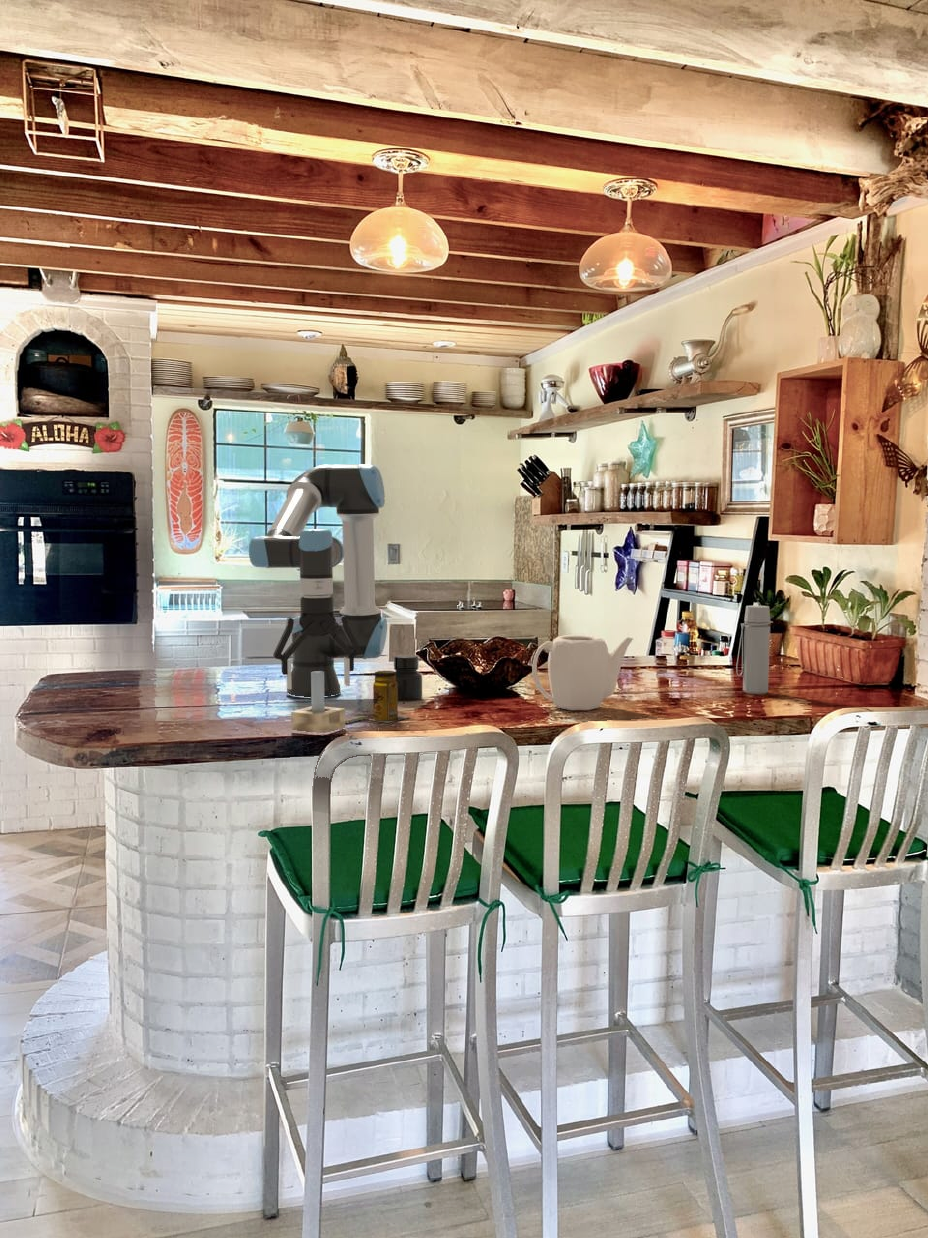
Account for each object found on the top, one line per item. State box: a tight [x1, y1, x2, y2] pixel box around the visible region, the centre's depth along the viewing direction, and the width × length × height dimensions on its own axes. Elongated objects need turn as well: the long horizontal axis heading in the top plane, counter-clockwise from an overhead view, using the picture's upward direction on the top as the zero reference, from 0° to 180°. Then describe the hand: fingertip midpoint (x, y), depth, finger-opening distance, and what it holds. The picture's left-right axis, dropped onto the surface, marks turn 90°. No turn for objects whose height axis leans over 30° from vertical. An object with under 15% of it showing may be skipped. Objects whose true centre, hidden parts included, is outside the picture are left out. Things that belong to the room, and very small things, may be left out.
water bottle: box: [735, 605, 772, 695], centre depth 277 cm, size 9×8×25 cm
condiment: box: [368, 670, 409, 724], centre depth 240 cm, size 7×8×12 cm
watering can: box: [531, 634, 634, 711], centre depth 255 cm, size 16×27×19 cm, turn 91°
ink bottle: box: [393, 654, 423, 702], centre depth 268 cm, size 10×9×12 cm
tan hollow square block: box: [290, 705, 346, 733], centre depth 226 cm, size 9×9×5 cm
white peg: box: [310, 671, 326, 713], centre depth 225 cm, size 3×3×14 cm
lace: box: [345, 715, 367, 723], centre depth 236 cm, size 10×1×1 cm, turn 143°
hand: (318, 686), depth 225 cm, fingers open, 13 cm apart
